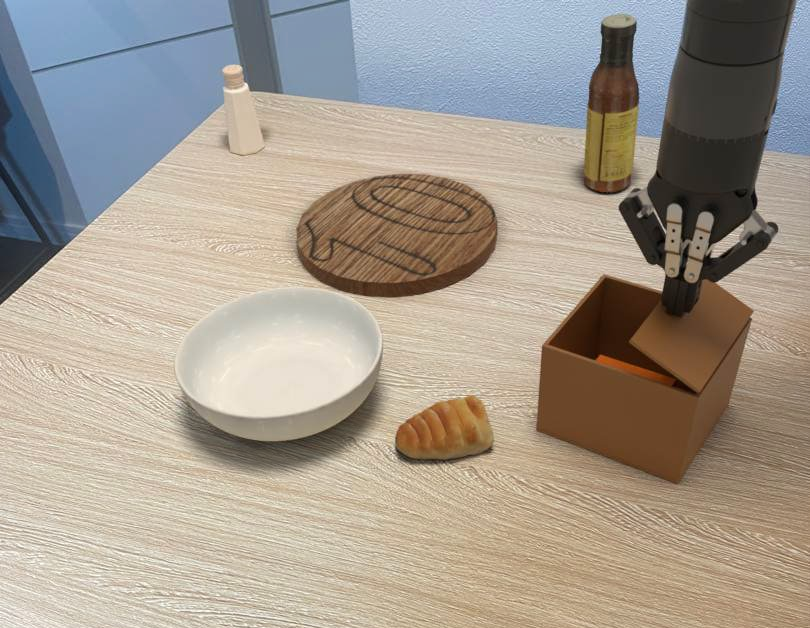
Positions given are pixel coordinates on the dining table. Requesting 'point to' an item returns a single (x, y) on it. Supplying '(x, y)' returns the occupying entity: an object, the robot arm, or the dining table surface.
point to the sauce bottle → (612, 109)
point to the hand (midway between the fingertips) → (677, 310)
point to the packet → (637, 370)
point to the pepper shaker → (240, 113)
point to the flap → (693, 335)
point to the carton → (626, 386)
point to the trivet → (397, 235)
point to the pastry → (446, 430)
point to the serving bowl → (280, 362)
